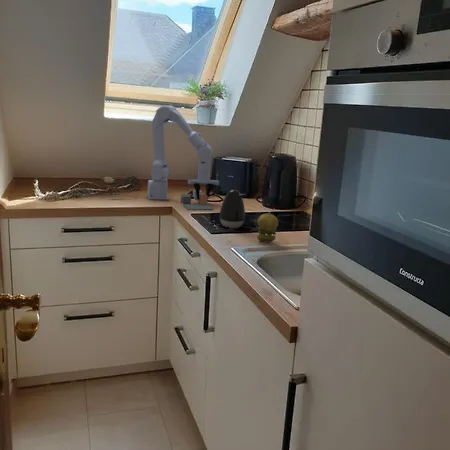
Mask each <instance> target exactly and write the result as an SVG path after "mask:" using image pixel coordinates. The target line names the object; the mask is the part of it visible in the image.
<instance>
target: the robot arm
mask: <svg viewBox="0 0 450 450" xmlns="http://www.w3.org/2000/svg"><path fill="white" fill-rule="evenodd" d="M169 121H170V122H173V123H176V124H177V125H178V127H179V128H180V129H181V130H182V131H183V132H184V133H185V134H186V135H187V141H188V142H189V143H190V144H191V145H192V147H193V148H194V150H196V151H197V155H198V165H197V166H198V167H197V179H196V178H195V179H194V178H193V179H187V184H188V185H193V187H194V190H195V191H196V195H197V200H199V193H200V190H201V185H205V194H206V195H207V196H208V198H209V196H210V194H211V192H212V190H213V188H214V185H215V186H219V185H220V180H217V179H211V168H212V167H211V165H212V155H213V152H214V149H213V147H212V145H210V144H209V143H208V142H207V141H205V140H204V138H203V137H202V133H200V132H198V131H194V130H193V128H192V127H191V126H190V125H189V123H188V122H187V120H186V119H185V118H184V117H183V115H182V114H181V112H180V111H179V109H177V107H175V106H174V105H170V104H169V105H161V106H160V107H158V108H157V109H156V110H155V115H154V117H153V118H152V121H151V129H152V143H153V147H152V148H153V157H154V158H153V159H154V161H153V162H152V166H151V167H152V169H151V172H150V175H151V178H152V179H148V180H147V193H146V196H147V198H148V200H154V201H155V200H159V201H161V200H162V201H163V200H165V201H166V200H167V201H168V200H169V199H170V198H169V197H168V187H169V186H168V184H169V181H168V177H169V175H170V172H171V171H170V167H169V166H168V161H167V159H166V150H165V149H166V147H165V146H166V145H165V134H164V133H165V130H164V127H165V125H166V124H167V123H168V122H169ZM197 200H196V201H197Z"/></svg>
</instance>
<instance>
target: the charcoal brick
mask: <svg viewBox="0 0 450 450" xmlns="http://www.w3.org/2000/svg"><path fill="white" fill-rule="evenodd" d="M180 203H181V204H182V205H183V204H192V196H191V195H190V194H189V193H181V194H180Z"/></svg>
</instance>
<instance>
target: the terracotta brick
mask: <svg viewBox="0 0 450 450" xmlns="http://www.w3.org/2000/svg"><path fill="white" fill-rule="evenodd" d="M208 200H209V197H208V196H207V195H206V192H205V193H199V200H196V201H197V204H208Z"/></svg>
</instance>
